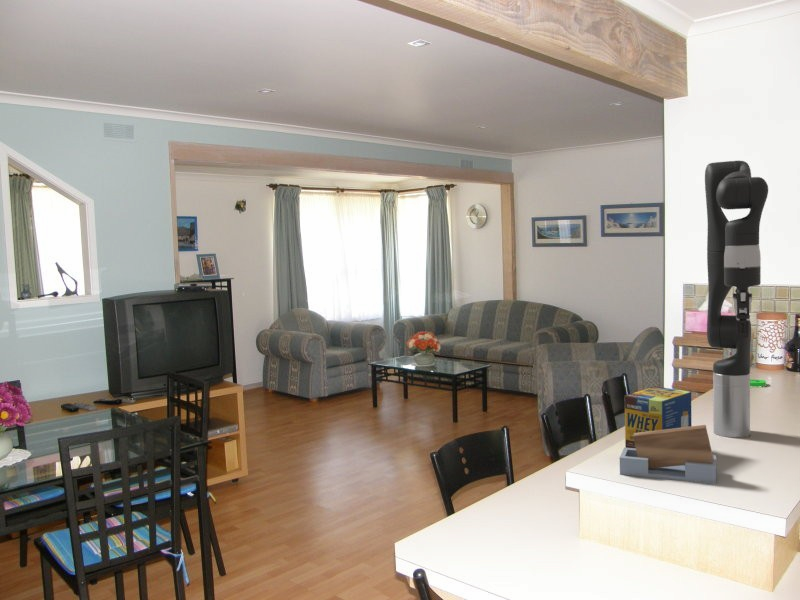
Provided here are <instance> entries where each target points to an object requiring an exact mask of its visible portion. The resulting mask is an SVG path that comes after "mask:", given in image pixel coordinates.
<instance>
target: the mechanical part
mask: <svg viewBox="0 0 800 600" xmlns="http://www.w3.org/2000/svg"><path fill="white" fill-rule="evenodd" d="M765 385H766V386H767V381H766V380H765V379H750V386H765ZM766 386H765V387H766Z"/></svg>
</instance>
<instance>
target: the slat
mask: <svg viewBox="0 0 800 600" xmlns="http://www.w3.org/2000/svg"><path fill="white" fill-rule="evenodd" d="M633 439H634V443H635V448H636V452H637V456H638V457H640V458H649V468H659V467H670V466H681V465H682V466H685V462H695V463H713V460H714V458H713V455H714V454H713V451H712V447H711V442H710V438H709V433H708V429H707V425H706V424H701V425H691V426H690V427H682V428H673V429H664V430H656V431H647V432H639V433H634V435H633Z"/></svg>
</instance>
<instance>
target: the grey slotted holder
mask: <svg viewBox="0 0 800 600" xmlns="http://www.w3.org/2000/svg"><path fill="white" fill-rule="evenodd" d="M713 458H714V460H713V463H695V462H685V465H681V466H670V467H659V468H649V458H640V457H638V456H637V452H636V448H625V447H623V449H622V451H621V454H620V455H619V475H624V476H625V475H627V476H634V477H644V478H646V477H647V478H654V479H664V480H676V481H684V482H685V481H686V482H695V483H704V484H705V483H707V484H717V455H715V454H713Z"/></svg>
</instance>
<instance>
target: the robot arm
mask: <svg viewBox="0 0 800 600" xmlns="http://www.w3.org/2000/svg"><path fill="white" fill-rule="evenodd" d="M704 189H705V190H704V191H705V202H706V203H705V204H706V216H707V217H706V218H707V220H706V221H707V234H706V235H707V238H706V239H707V241H706V244H707V247H706V251H707V253H706V257H707V258H706V263H707V265H706V266H707V284H708V289H707V290H708V293H707V294H708V296H707V297H708V300H707V316H706V319H707V321H706V339H707V343H708V345H709V347H711V348H716V349H729V350H731V349H733V350H734V349H735V351H736V352H735V353H734V354H732V355H731V356H729V357H727V358H723V359H722V358H721V359H719V360H717V361H714V363H713V364H712V377H713V379H712V383H713V384H712V387H713V391H712V392H713V393H712V397H713V400H712V401H713V404H712V405H713V418H712V419H713V433H714V434H715V435H718V436H721V437H726V438H745V437H746V438H747V437H750V436H751V387H750V380H751V341H752V322H751V319H750V318H751V315H750V313H751V312H752V302H753V294H752V293H751V292H749V287H757V286H760V285H761V276H762V275H761V273H762V272H761V271H762V270H761V269H762V267H761V260H762V258H761V249H760V226H761V219H762V215H763V214H762V213H763V211H764V208H765V207H764V206H765V205H766V202H767V198H768V196H769V195H768V194H769V185H768V183H767V181H766V180H765V179H764V178H763V177H760V176H753V177H752V172H751V166H750V165H749V164H748V162H746V161H744V160H729V161H727V160H726V161H717V162H716V161H715V162H709V163H708V164H707V165H706V167H705V171H704ZM723 209H724V210H743V209H747V210H748V209H749V212H748V214H747V215H746V216H744V217H742V218H737V219H731V220H730V221H729V220H728V218H727V216H726V215H725V213H724V210H723ZM733 287H735V293H732V302H733V310H734V311H733V312H734V314H735V315H734V314H733V315H730V314H729V315H727V314H726V315H725V314H723V315H722V309H723V308H722V307H723V304H724V302H725V300H726V297H727V296H728V294H729V293H730V291H731V290H732V288H733Z"/></svg>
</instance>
